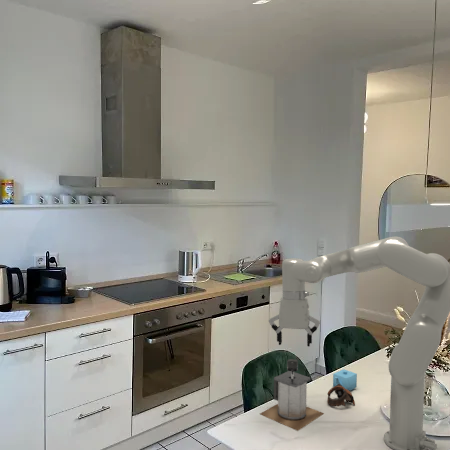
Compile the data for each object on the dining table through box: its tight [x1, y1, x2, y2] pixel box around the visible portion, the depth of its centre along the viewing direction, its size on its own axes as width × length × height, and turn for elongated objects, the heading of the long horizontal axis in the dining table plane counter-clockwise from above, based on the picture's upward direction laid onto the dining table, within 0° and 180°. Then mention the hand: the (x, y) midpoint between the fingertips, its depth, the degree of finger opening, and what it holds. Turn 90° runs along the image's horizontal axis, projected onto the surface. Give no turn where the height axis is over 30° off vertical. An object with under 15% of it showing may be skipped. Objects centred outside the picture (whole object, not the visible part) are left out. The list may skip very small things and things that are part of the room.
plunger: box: [286, 358, 299, 379], centre depth 155 cm, size 7×7×16 cm
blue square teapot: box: [332, 369, 358, 392], centre depth 177 cm, size 12×6×8 cm, turn 131°
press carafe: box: [273, 370, 311, 421], centre depth 156 cm, size 12×10×13 cm
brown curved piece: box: [326, 384, 356, 408], centre depth 165 cm, size 12×10×8 cm
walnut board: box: [259, 403, 325, 432], centre depth 155 cm, size 16×16×1 cm
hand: (294, 344), depth 153 cm, fingers open, 9 cm apart
